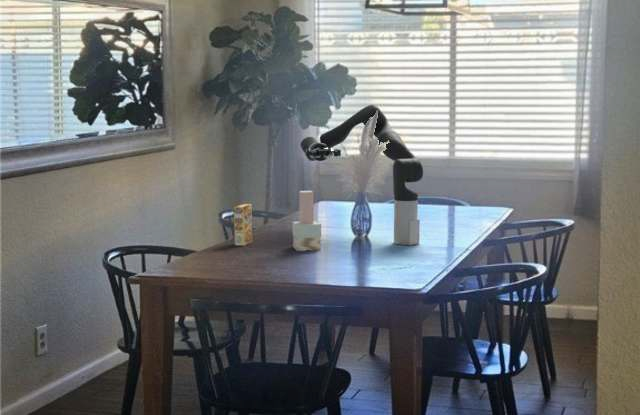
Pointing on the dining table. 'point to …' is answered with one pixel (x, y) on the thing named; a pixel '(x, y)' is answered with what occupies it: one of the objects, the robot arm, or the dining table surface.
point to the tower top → (306, 230)
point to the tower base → (306, 243)
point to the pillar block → (306, 207)
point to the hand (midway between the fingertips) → (326, 154)
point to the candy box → (243, 224)
